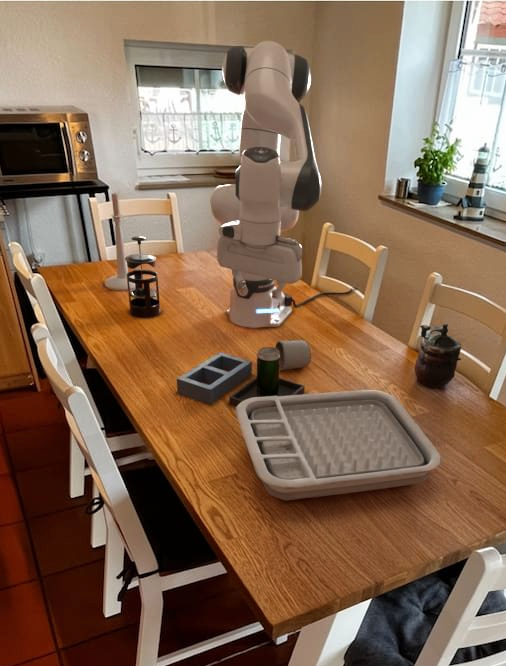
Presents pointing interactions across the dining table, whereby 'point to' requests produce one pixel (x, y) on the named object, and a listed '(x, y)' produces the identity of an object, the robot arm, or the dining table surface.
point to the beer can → (268, 372)
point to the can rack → (214, 377)
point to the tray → (250, 390)
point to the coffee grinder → (437, 357)
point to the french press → (142, 285)
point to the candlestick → (119, 253)
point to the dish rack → (334, 443)
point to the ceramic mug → (293, 354)
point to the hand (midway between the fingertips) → (258, 293)
